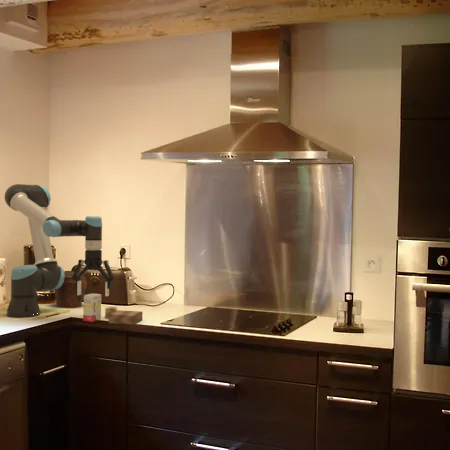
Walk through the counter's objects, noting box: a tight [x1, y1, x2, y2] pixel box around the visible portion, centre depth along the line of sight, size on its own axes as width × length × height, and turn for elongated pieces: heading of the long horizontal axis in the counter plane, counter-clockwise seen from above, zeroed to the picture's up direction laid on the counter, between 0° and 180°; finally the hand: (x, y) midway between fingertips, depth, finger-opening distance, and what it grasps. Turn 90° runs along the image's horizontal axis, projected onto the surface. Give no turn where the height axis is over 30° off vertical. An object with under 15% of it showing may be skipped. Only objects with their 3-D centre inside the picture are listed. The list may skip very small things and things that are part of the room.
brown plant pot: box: [53, 270, 88, 309], centre depth 329 cm, size 18×20×18 cm
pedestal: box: [108, 309, 144, 326], centre depth 288 cm, size 12×12×4 cm
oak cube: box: [104, 306, 118, 320], centre depth 298 cm, size 5×5×5 cm
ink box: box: [82, 293, 102, 323], centre depth 290 cm, size 9×5×12 cm, turn 162°
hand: (93, 295), depth 290 cm, fingers open, 13 cm apart
